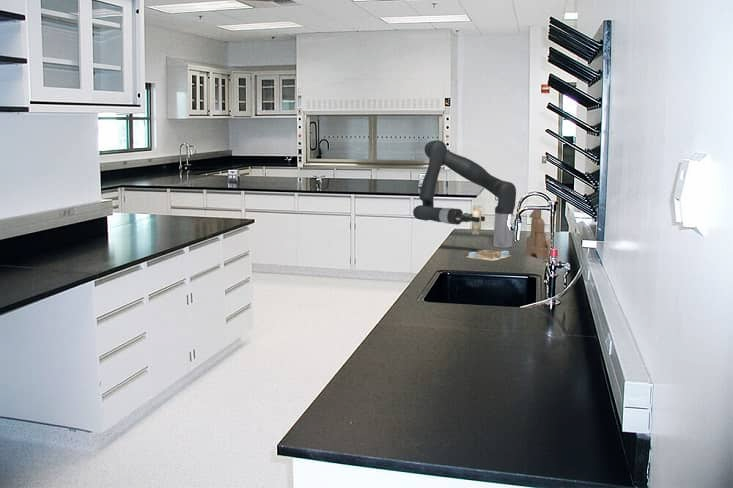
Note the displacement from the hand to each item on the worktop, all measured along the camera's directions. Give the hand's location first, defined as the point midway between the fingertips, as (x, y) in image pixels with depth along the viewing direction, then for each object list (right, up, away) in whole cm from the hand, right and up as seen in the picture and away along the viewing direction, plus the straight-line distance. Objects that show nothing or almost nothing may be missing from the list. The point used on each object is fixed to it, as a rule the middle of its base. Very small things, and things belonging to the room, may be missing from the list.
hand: (481, 219), depth 329 cm
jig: (+3, -18, -1) cm, 19 cm away
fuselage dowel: (-2, -7, +3) cm, 8 cm away
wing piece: (+10, -17, 0) cm, 20 cm away
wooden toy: (+26, -19, +1) cm, 32 cm away
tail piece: (-4, -17, -3) cm, 18 cm away
